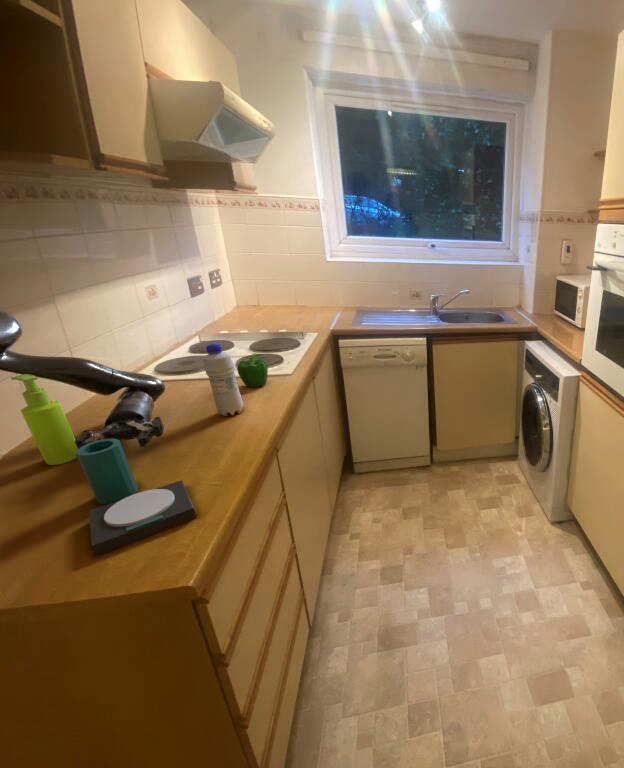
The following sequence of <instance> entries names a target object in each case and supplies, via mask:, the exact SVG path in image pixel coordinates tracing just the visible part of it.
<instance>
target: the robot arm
mask: <svg viewBox="0 0 624 768" xmlns="http://www.w3.org/2000/svg"><path fill="white" fill-rule="evenodd" d="M22 335H23V327H22V324H21V322H20V321H19V320H18V319H17V317H15V316H14V315H12V314H11V313H9V312H8V311H6V310H2V309H0V371H3V372H8V373H12V374H17V375H23V374H29V375H33V376H36V377H37V378H38V379H43V380H47V381H48V380H49V381H55V382H58V383H62V384H65V385H68V386H72V387H75V388H77V389H81V390H84V391H87V392H90V393H94V394H97V395H99V396H105V397H106V396H111V395H114V394H115V393H117V392H118V391H120V390H123V391H122V392H121V393H119V396H118V397H117V399H116V404H115V405H114V406H113V407H112V409H111V411H110V413H109V414H108V415H107V417H106V419H105V422H104V426H103V427H102V428H100V429H99V430H98V431H93V432H92V431H91V429H85V430H82V432H81V433H80V434H79V435H78V437H77V438H75V439H76V440H75V444H76V446H77V448H78V449H79V448H81V447H82V446H84V445H86V444H89V443H91V442H94V441H98V440H103V439H118V440H119V441H120V442H121V441H131V440H134V439H135V440H137V441H138V444H139V446H140V448H144V447H146V446H147V444H149V443H150V442H151V440H152V439H153V437H157V438H159V437H162V436H163V434H164V427H165V426H164V423H163V420H162V417H161V416H155V417H154V418H153V417H152V416H153V411H154V408H155V403H156V401H158V399H160V397H161V396H162V395H163V394H164V393H165V391H166V385H165V383H164V382H163V380H162V379H160V378H158V377H156V376H155V375H151V374H147V373H140V372H134V371H133V372H132V371H127V370H121V369H116V368H113V367H110V366H107V365H105V364H102V363H99V362H96V361H94V360H91V359H88V358H82V357H76V356H75V357H73V356H40V355H31V354H24V353H19V352H16V351H12V350H10V349H11V348H13V346H14V345H16V343H18V341H19V340H20V338H21V337H22ZM152 418H153V419H152Z"/></svg>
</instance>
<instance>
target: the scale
mask: <svg viewBox="0 0 624 768" xmlns="http://www.w3.org/2000/svg"><path fill="white" fill-rule="evenodd" d="M197 517H198V516H197V513H196V510H195V507H194V505H193V503H192V500H191V498H190V496H189V493H188V491H187V488H186V486H185V484H184V482H183V479H181V480H178V481H175V482H171V483H169V484H166V485H162V486H159V487H156V488H152V489H148V490H143V491H140V492H137V493H136V492H135V493H134V494H133V495H131V496H129V497H126V498H124V499H122V500H120V501H117V502H114V503H110V504H104V505H103V506H100V507H96V508H94V509H91V510H88V521H89V532H90V542H91V543H90V544H91V545H90V546H91V548H92V550H93V553H94V555H95V557H98V556H100V555H104V554H105V553H108V552H111V551H114V550H117V549H119V548H122V547H124V546H127V545H130V544H132V543H134V542H137V541H140V540H142V539H145V538H148V537H150V536H153V535H155V534H157V533H160V532H162V531H165V530H168V529H170V528H173V527H176V526H178V525H181V524H184V523H186V522H188V521H191V520H194V519H196V518H197Z"/></svg>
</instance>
